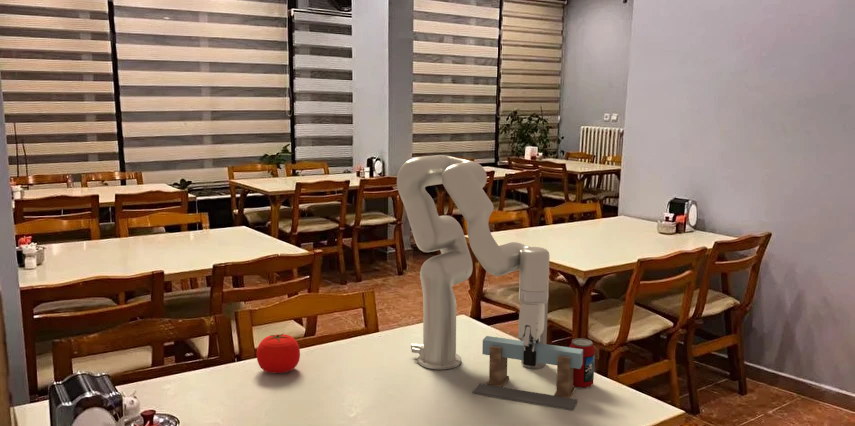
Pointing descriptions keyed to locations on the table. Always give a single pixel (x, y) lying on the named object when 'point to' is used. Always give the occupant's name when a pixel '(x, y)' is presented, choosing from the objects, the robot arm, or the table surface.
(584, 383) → the beverage can
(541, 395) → the mat
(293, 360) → the tomato
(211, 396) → the table surface
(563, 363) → the post
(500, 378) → the post
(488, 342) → the rail
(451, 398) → the table surface
